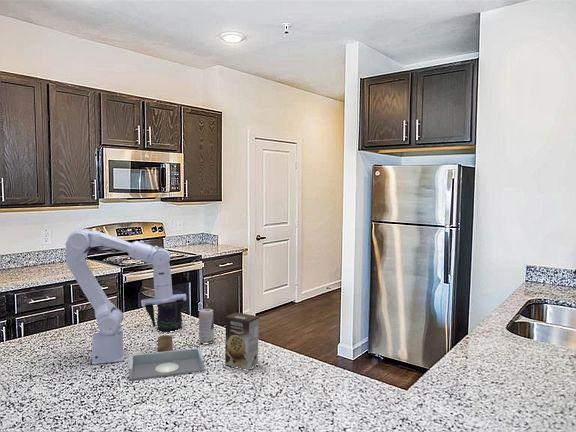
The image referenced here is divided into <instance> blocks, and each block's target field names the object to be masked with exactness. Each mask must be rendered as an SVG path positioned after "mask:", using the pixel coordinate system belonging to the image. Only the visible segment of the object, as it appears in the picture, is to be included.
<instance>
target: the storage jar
mask: <svg viewBox="0 0 576 432" xmlns="http://www.w3.org/2000/svg"><path fill="white" fill-rule="evenodd" d="M172 294H173V295H177V294H183V291H182V290H180V289H172ZM156 306H157V317H156V319H157V320H156V324H157V326H156V327H157V329H156V330H157V331H158V330H159V331H162V332H161V333H164V332H169V333H171V332H170V331H175V330H178V329H180V328H182V329H183V327H182V325H183V314H182V312H181V313H180V317H179V323H177V322H176V309H175V302H169V303H162V304H156ZM159 331H158V332H159Z"/></svg>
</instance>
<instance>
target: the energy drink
mask: <svg viewBox="0 0 576 432" xmlns="http://www.w3.org/2000/svg"><path fill="white" fill-rule="evenodd" d="M214 313H215V312H214V309H212V308H202V309H199V313H198V343H199V342H200V343H211V342H213V343H214V342H215V341H214V339H215V338H214V337H215V335H214V331H215V330H214V325H215V324H214V323H215V321H214V319H215V314H214ZM200 343H199V344H200Z"/></svg>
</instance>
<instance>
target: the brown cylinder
mask: <svg viewBox="0 0 576 432" xmlns="http://www.w3.org/2000/svg"><path fill="white" fill-rule="evenodd" d="M165 351H173V336H172V335H167V334H166V335H160V336H158V337H157V352H165Z"/></svg>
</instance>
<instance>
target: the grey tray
mask: <svg viewBox="0 0 576 432" xmlns="http://www.w3.org/2000/svg"><path fill="white" fill-rule="evenodd" d="M128 369H129V373H128V377H129V379H128V380H129V382H132V381H134V382H135V381H140V380H149V379H156V378H158V379H159V378H165V376H166V377H173V376H172V375H175V376H180V375H179V374H183V375H187V374H186V373H191V374H193V373H192V372H199V371H204V372H205V359H204V356H203V353H202V349H201V347H196V348H195V347H194V348H186V349H185V348H184V349H178V350H177V349H176V350H172V351H165V352H158V351H157V352H148V353H139V354H130V358H129V368H128ZM199 373H200V372H199Z"/></svg>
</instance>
